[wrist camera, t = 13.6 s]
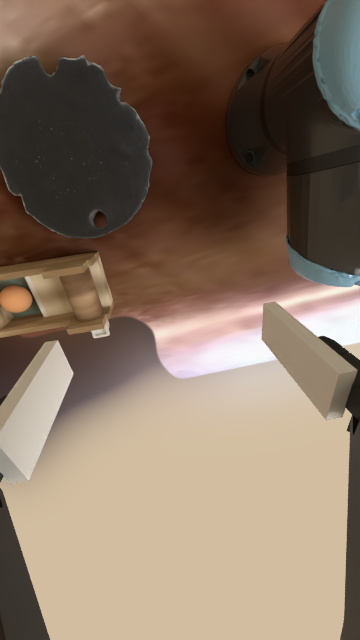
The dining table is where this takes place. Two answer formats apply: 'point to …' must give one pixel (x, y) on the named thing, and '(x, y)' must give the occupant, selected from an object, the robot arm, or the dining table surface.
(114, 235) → the dining table surface
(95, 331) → the grey egg cup
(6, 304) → the ball
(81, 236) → the board
